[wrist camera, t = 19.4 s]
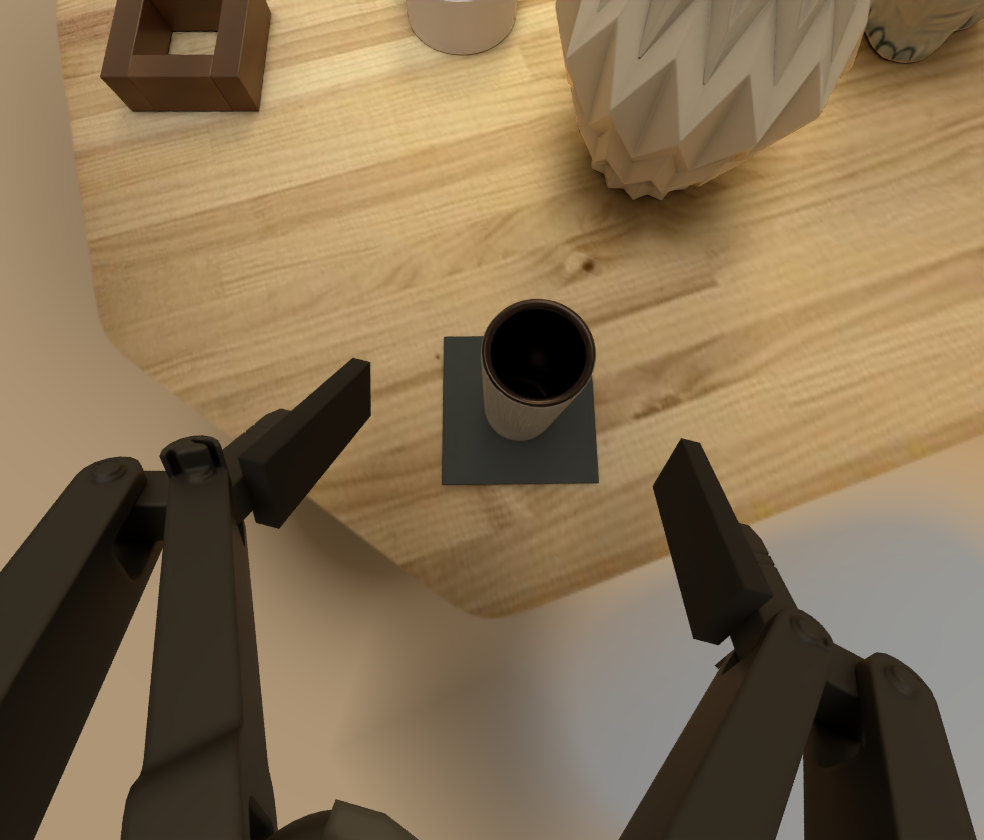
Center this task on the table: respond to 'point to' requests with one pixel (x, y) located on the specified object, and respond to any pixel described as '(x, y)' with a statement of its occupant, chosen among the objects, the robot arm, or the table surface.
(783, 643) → the robot arm
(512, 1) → the wedge on round base
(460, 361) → the mat
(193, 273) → the table surface
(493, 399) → the beige hollow cylinder
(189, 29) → the brown square frame
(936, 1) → the elephant cookie jar
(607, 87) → the vase
